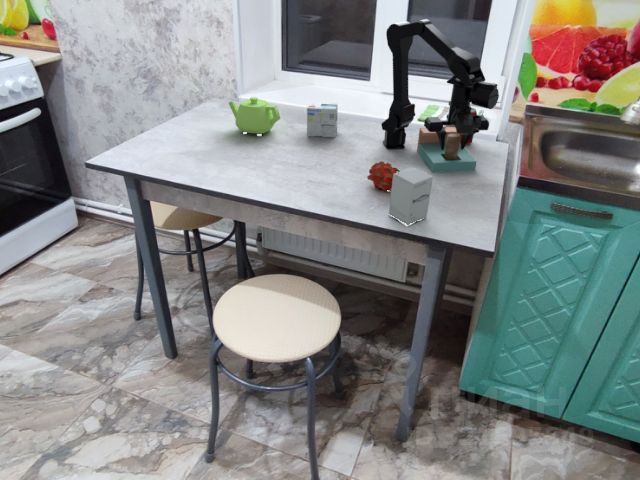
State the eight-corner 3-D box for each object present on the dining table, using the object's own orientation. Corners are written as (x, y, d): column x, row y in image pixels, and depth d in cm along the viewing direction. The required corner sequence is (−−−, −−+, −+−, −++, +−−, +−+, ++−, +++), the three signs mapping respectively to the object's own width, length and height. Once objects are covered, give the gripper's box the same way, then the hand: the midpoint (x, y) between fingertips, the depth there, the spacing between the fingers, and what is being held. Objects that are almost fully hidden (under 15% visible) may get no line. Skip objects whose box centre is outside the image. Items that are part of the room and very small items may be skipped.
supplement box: (407, 228, 122) (413, 184, 115) (387, 215, 127) (392, 173, 120) (427, 219, 126) (434, 176, 119) (407, 207, 131) (412, 165, 124)
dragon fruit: (367, 185, 145) (400, 202, 140) (357, 179, 138) (391, 197, 132) (380, 160, 144) (414, 176, 139) (371, 152, 136) (406, 169, 131)
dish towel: (476, 132, 179) (477, 123, 177) (416, 122, 187) (417, 113, 185) (484, 118, 192) (485, 109, 190) (428, 109, 200) (429, 101, 198)
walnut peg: (445, 168, 151) (450, 138, 146) (441, 163, 155) (446, 134, 149) (457, 168, 152) (462, 138, 146) (453, 162, 155) (458, 133, 150)
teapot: (223, 134, 175) (219, 100, 168) (240, 122, 185) (237, 89, 178) (272, 141, 169) (270, 107, 162) (287, 129, 179) (286, 95, 172)
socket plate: (432, 171, 149) (435, 148, 145) (416, 150, 163) (419, 127, 159) (474, 170, 151) (479, 146, 146) (456, 148, 165) (460, 126, 160)
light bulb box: (337, 131, 178) (338, 102, 172) (335, 138, 172) (336, 108, 166) (309, 130, 179) (308, 101, 173) (306, 136, 173) (306, 107, 167)
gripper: (438, 110, 134) (431, 161, 143) (502, 108, 136) (490, 159, 145) (427, 98, 143) (420, 146, 152) (486, 96, 145) (476, 144, 154)
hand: (451, 149), depth 150 cm, fingers open, 6 cm apart
